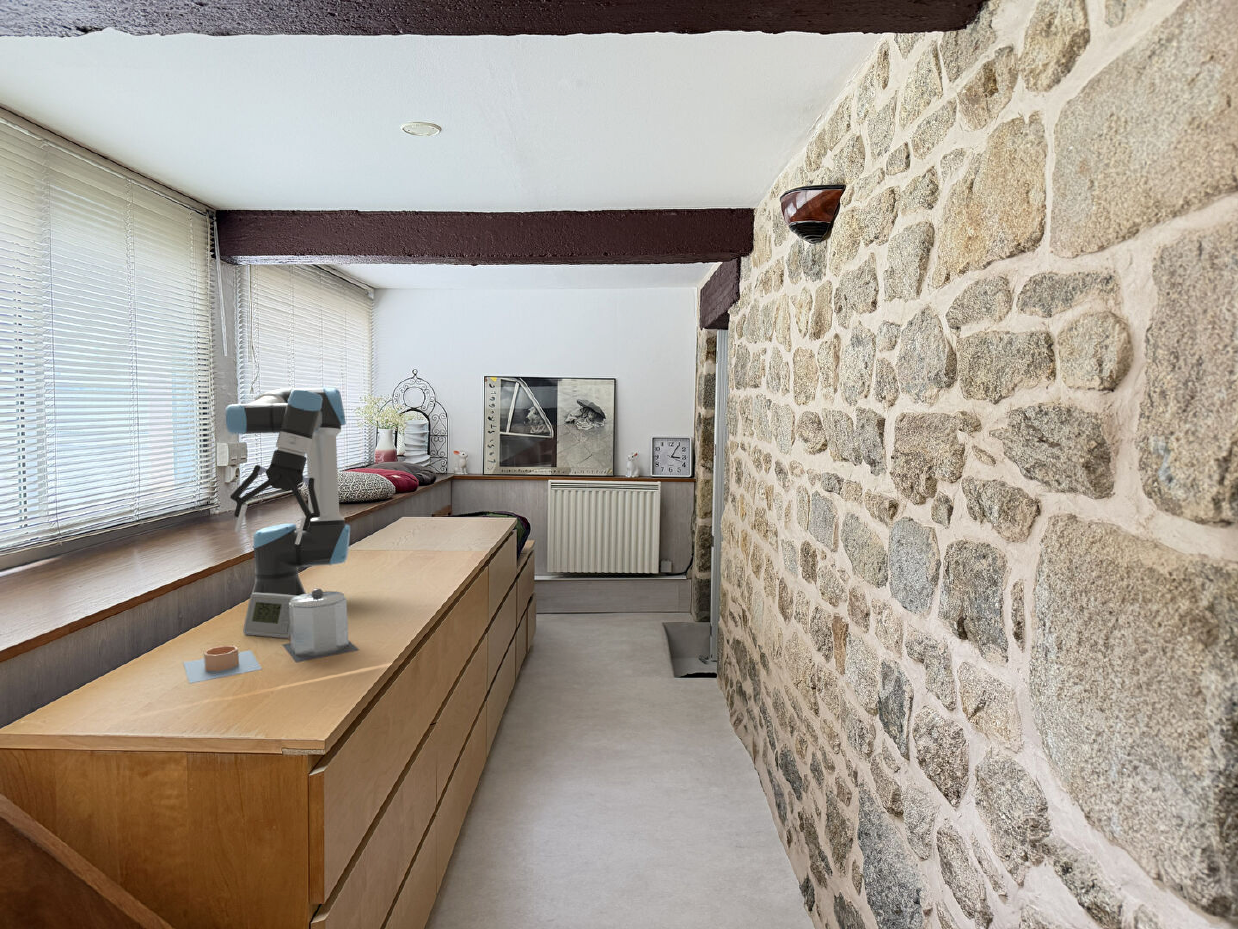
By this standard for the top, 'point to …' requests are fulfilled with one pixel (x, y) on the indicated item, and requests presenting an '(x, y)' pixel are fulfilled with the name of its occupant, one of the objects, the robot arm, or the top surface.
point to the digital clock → (268, 615)
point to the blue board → (199, 673)
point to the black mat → (304, 658)
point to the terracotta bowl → (221, 658)
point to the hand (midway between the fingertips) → (267, 538)
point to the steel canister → (318, 623)
